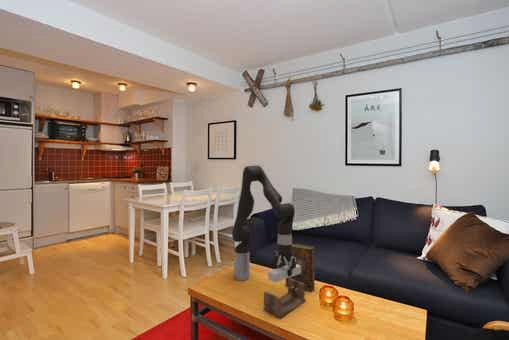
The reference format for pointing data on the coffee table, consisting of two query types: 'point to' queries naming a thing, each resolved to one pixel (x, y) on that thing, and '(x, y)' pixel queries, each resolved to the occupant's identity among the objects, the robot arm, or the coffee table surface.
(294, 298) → the shelf frame
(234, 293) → the coffee table surface
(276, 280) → the grey rectangular bar
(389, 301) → the coffee table surface
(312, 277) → the book
